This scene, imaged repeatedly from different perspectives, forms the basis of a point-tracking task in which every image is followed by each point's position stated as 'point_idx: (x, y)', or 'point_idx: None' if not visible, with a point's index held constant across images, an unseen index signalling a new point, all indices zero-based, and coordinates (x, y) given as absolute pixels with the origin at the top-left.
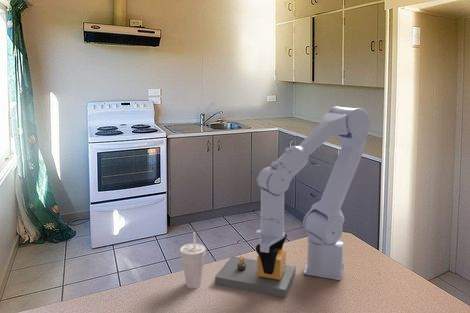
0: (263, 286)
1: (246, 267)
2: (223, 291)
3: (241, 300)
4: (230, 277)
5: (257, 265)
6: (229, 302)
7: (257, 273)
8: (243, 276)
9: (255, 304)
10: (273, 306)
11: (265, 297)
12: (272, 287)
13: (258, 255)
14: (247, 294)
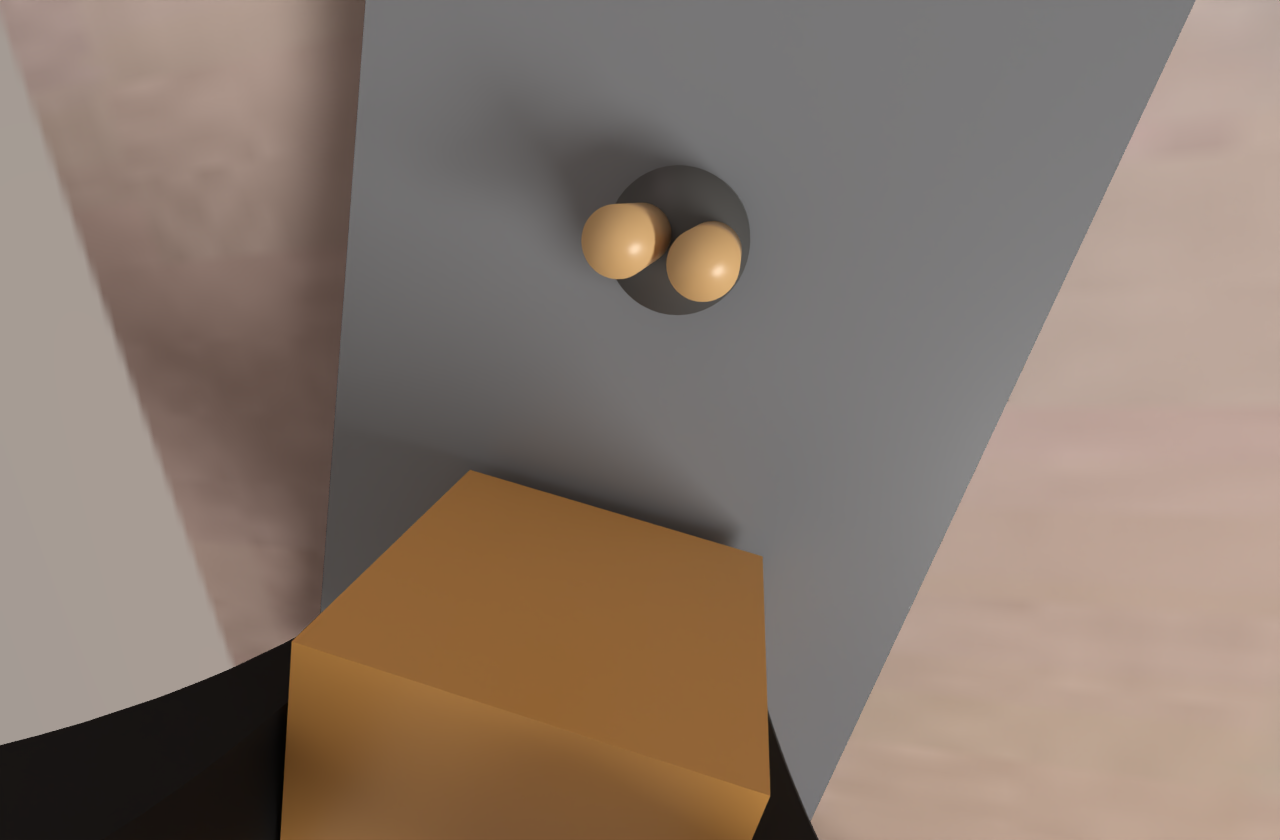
0: (329, 517)
1: (736, 308)
2: (308, 35)
3: (210, 275)
4: (413, 89)
5: (396, 542)
6: (139, 149)
7: (455, 484)
8: (473, 283)
9: (194, 410)
10: (217, 554)
11: (321, 498)
12: (323, 603)
13: (333, 663)
14: (323, 329)
